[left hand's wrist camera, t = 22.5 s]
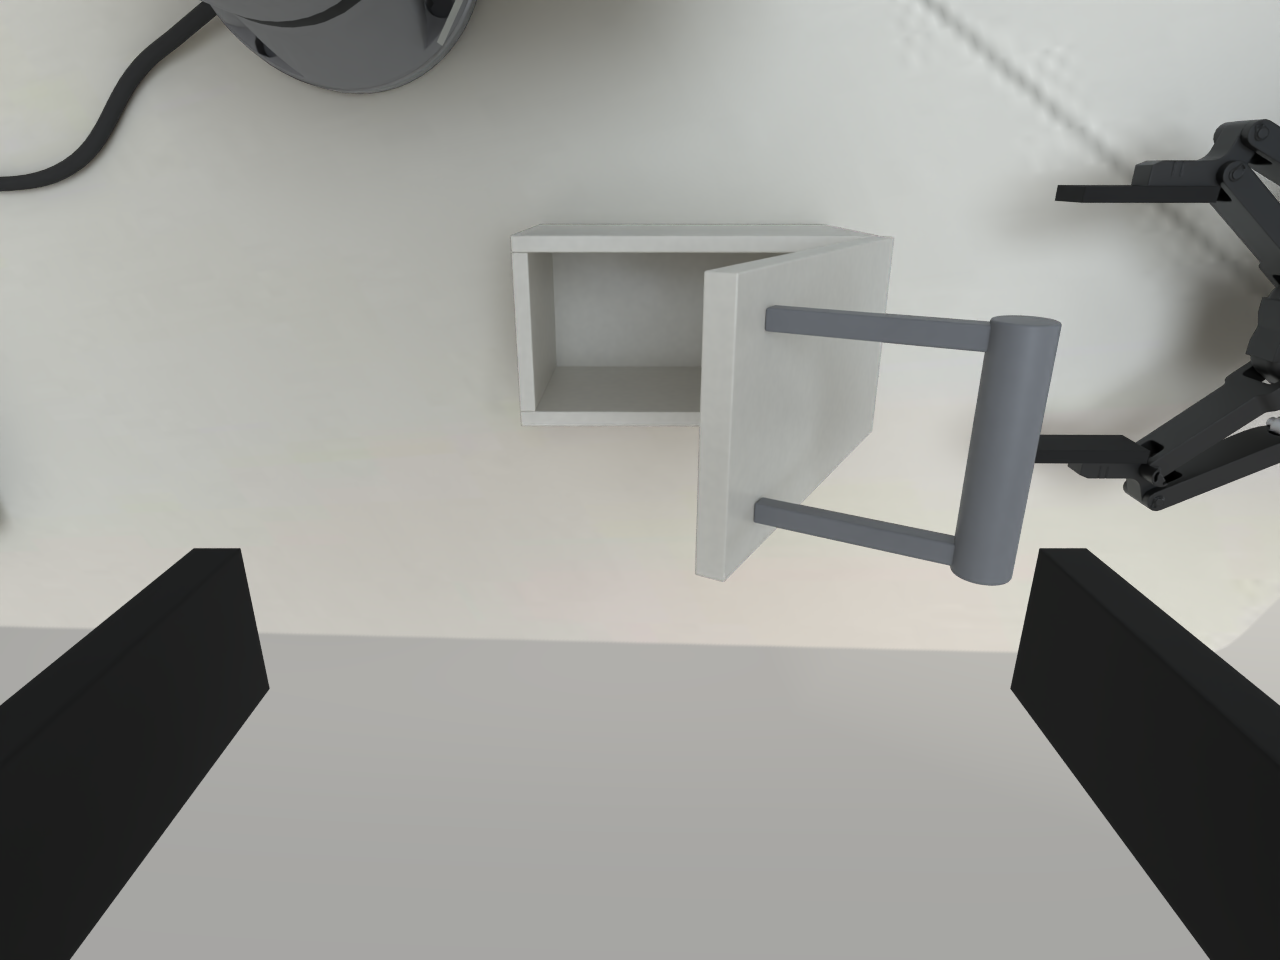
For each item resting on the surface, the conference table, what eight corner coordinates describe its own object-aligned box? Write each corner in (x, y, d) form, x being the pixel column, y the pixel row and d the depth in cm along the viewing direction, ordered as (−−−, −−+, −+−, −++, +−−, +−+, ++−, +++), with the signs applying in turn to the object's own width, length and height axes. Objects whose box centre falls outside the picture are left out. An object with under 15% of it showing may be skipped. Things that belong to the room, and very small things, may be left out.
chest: (546, 375, 49) (520, 426, 39) (539, 223, 46) (510, 235, 36) (813, 375, 49) (858, 426, 39) (825, 224, 46) (879, 235, 36)
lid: (694, 574, 24) (994, 654, 20) (703, 270, 21) (1065, 291, 17) (851, 428, 39) (1043, 457, 34) (872, 236, 35) (1087, 242, 31)
